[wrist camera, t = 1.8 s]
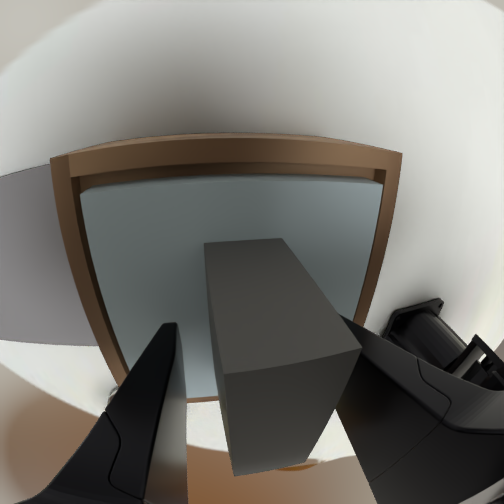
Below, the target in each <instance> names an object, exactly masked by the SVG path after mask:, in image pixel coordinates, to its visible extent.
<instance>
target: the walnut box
mask: <svg viewBox="0 0 504 504" xmlns="http://www.w3.org/2000/svg"><path fill="white" fill-rule="evenodd" d="M401 162H402V153H399V152H395V151H391V150H387V149H383V148H379V147H374V146H369V145H365V144H360V143H354V142H349V141H344V140H338V139H332V138H326V137H316V136H304V135H290V134H271V133H198V134H179V135H166V136H154V137H144V138H135V139H127V140H120V141H113V142H107V143H103V144H99V145H95V146H91V147H87V148H83V149H80V150H76V151H73V152H69V153H66V154H63V155H59V156H56V157H53V158H50V167H51V176H52V184H53V191H54V197H55V203H56V209H57V214H58V220H59V224H60V229H61V234H62V238H63V242H64V246H65V250H66V254H67V258H68V262H69V265H70V269H71V272H72V275H73V279H74V282H75V285H76V288H77V291H78V294H79V297H80V300H81V303H82V306H83V308H84V311H85V314H86V316H87V319H88V322H89V324H90V327H91V329H92V332H93V334H94V336H95V339H96V341H97V343H98V346H99V348H100V350H101V352H102V355H103V357H104V359H105V361H106V363H107V365H108V367H109V369H110V371H111V373H112V375H113V377H114V379H115V381H116V383H117V385H118V387H120V385H121V384H122V382H123V381H124V379H125V378H126V376H127V375H128V373H129V372H130V370H129V368H128V365H127V363H126V361H125V358H124V356H123V353H122V351H121V348H120V346H119V343H118V341H117V338H116V335H115V333H114V330H113V327H112V324H111V321H110V318H109V315H108V312H107V309H106V306H105V303H104V300H103V297H102V293H101V290H100V287H99V283H98V279H97V276H96V272H95V268H94V264H93V260H92V256H91V252H90V247H89V243H88V238H87V233H86V228H85V223H84V217H83V212H82V205H81V199H80V194H81V193H83V192H84V191H86V190H87V189H89V188H90V187H91V186H93V185H99V184H107V183H115V182H123V181H132V180H142V179H153V178H164V177H178V176H194V175H215V174H257V173H276V174H318V175H339V176H355V177H365V178H368V179H370V180H373V181H375V182H377V183H380V184H382V185H383V189H382V195H381V202H380V208H379V213H378V219H377V224H376V229H375V234H374V239H373V244H372V249H371V253H370V258H369V262H368V266H367V270H366V274H365V278H364V282H363V286H362V290H361V294H360V297H359V301H358V304H357V308H356V311H355V314H354V318H353V322H355V323H356V324H358V325H360V326H362V327H363V326H364V323H365V320H366V317H367V314H368V311H369V308H370V305H371V302H372V298H373V295H374V292H375V288H376V285H377V281H378V278H379V274H380V270H381V267H382V263H383V259H384V255H385V251H386V247H387V242H388V238H389V233H390V229H391V224H392V219H393V214H394V208H395V203H396V197H397V191H398V184H399V177H400V170H401ZM218 400H219V397H218V396H209V397H197V398H187V403H195V402H208V401H218Z"/></svg>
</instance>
